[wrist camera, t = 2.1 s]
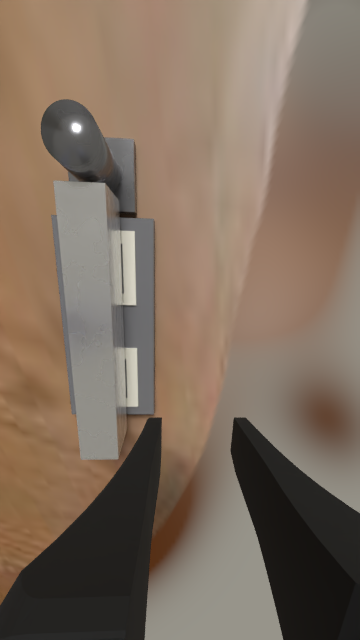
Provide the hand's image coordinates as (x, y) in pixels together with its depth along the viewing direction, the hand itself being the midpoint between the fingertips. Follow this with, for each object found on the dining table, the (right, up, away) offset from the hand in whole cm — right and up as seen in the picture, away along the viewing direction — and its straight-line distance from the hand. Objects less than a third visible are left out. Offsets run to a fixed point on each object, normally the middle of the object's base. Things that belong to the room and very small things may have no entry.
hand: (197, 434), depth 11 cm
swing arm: (-7, +5, +7) cm, 11 cm away
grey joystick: (-7, +17, +6) cm, 20 cm away
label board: (-7, +6, +9) cm, 13 cm away
